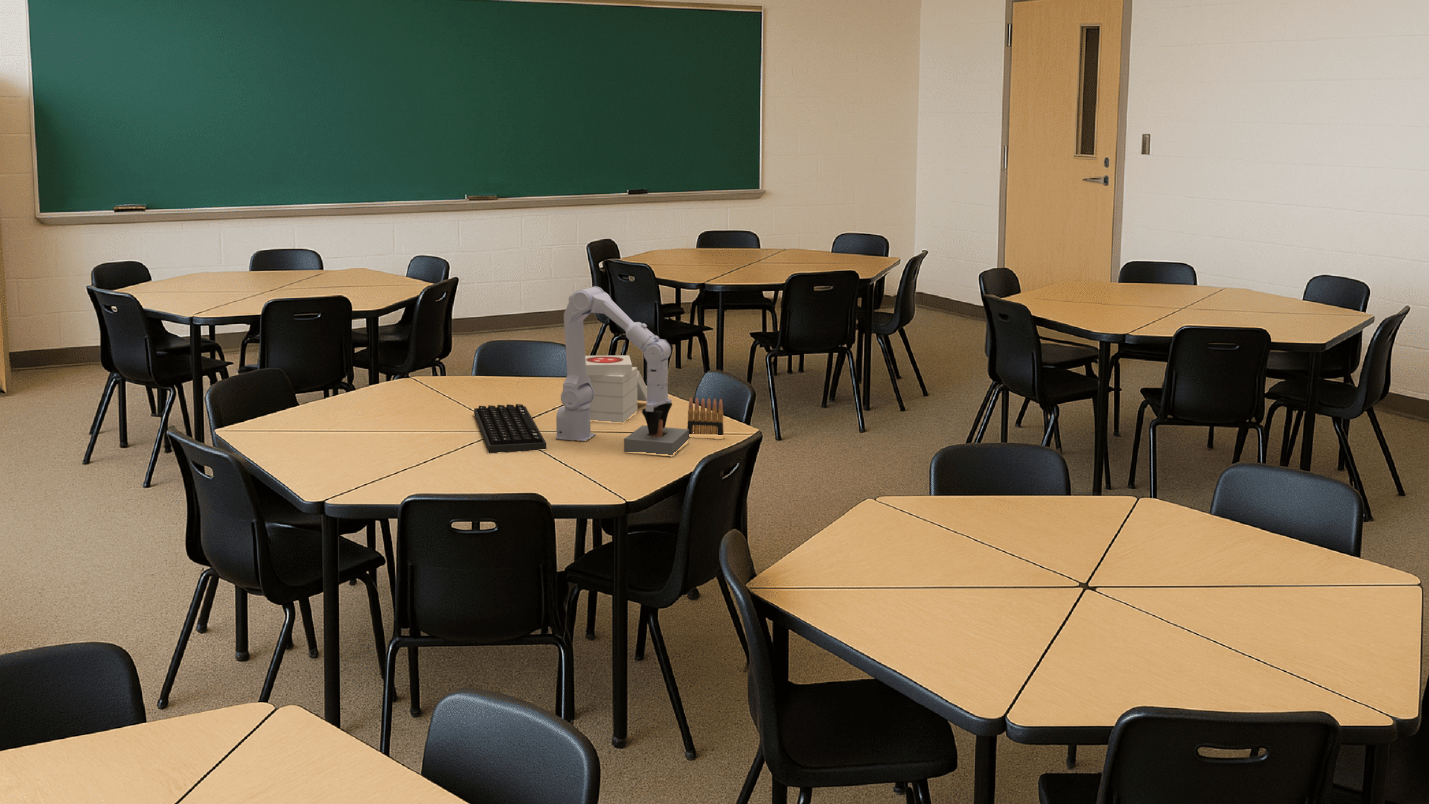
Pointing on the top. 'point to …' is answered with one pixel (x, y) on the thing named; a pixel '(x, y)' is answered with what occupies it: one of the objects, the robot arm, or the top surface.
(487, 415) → the computer keyboard
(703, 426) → the ammunition clip
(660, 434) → the peg
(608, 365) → the pizza boxes
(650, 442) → the socket block
